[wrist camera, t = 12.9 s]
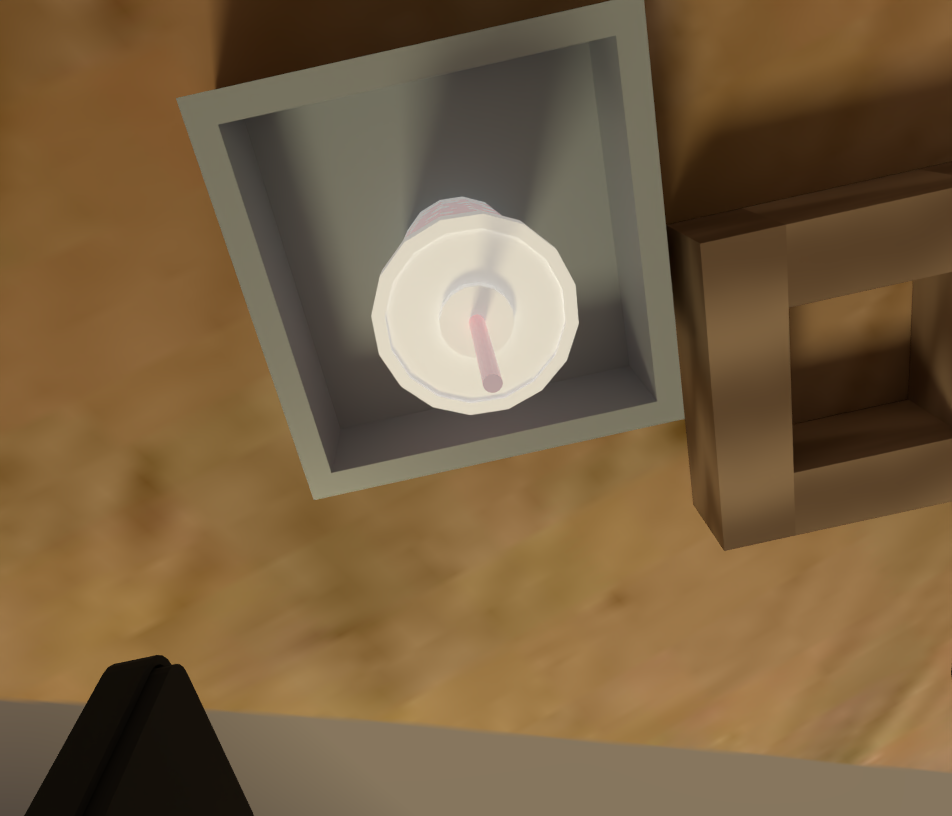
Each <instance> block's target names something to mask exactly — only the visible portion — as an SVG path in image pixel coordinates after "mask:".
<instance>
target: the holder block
mask: <svg viewBox="0 0 952 816" xmlns="http://www.w3.org/2000/svg"><path fill="white" fill-rule="evenodd" d="M666 227H667V237H668V247H669V258H670V268H671V278H672V289H673V299H674V309H675V320H676V330H677V340H678V351H679V361H680V371H681V382H682V392H683V402H684V413H685V423H686V433H687V444H688V454H689V464H690V475H691V485H692V495H693V505H694V506H695V508H696V509H697V511H698V512H699V514H700V515H701V517H702V518H703V520H704V521H705V523H706V524H707V526H708V527H709V529H710V530H711V532H712V533H713V535H714V536H715V538H716V539H717V541H718V542H719V544H720V545H721V547H722V548H723V550H724V551H726V550H730V549H735V548H740V547H744V546H749V545H753V544H758V543H763V542H767V541H772V540H776V539H781V538H786V537H790V536H795V535H799V534H804V533H809V532H813V531H818V530H822V529H827V528H832V527H836V526H841V525H845V524H850V523H855V522H859V521H864V520H868V519H873V518H878V517H882V516H887V515H891V514H896V513H901V512H905V511H910V510H914V509H919V508H924V507H928V506H933V505H937V504H942V503H947V502H951V501H952V162H948V163H944V164H939V165H935V166H930V167H926V168H921V169H917V170H912V171H908V172H903V173H899V174H894V175H890V176H885V177H881V178H876V179H872V180H867V181H863V182H858V183H854V184H849V185H845V186H840V187H836V188H831V189H827V190H822V191H818V192H813V193H809V194H804V195H800V196H795V197H791V198H786V199H782V200H777V201H773V202H768V203H763V204H759V205H754V206H750V207H745V208H741V209H736V210H732V211H727V212H723V213H718V214H714V215H709V216H705V217H700V218H696V219H691V220H687V221H682V222H678V223H673V224H669V225H666ZM912 280H913V296H912V320H911V345H910V369H909V394H908V400H903V401H899V402H894V403H890V404H885V405H880V406H876V407H871V408H867V409H862V410H858V411H853V412H848V413H844V414H839V415H835V416H830V417H826V418H821V419H817V420H812V421H807V422H803V423H798V424H794V425H792V402H791V369H790V337H789V308H790V307H794V306H799V305H803V304H808V303H812V302H817V301H821V300H826V299H830V298H835V297H840V296H844V295H849V294H853V293H858V292H862V291H867V290H871V289H876V288H880V287H885V286H889V285H894V284H899V283H903V282H908V281H912Z"/></svg>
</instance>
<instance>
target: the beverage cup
mask: <svg viewBox="0 0 952 816" xmlns="http://www.w3.org/2000/svg"><path fill="white" fill-rule="evenodd" d="M371 318H372V323H373V328H374V333H375V337H376V342H377V347H378V352H379V355H380V357H381V358H382V360H383V361H384V363H385V364H386V366H387V367H388V368H389V370H390V371H391V373H392V374H393V376H394V377H395V379H396V380H397V382H398V383H399V384H400V386H401V387H403V388H404V389H406V390H407V391H409V392H410V393H412V394H413V395H415V396H416V397H418V398H419V399H421V400H423V401H424V402H426V403H427V404H429V405H430V406H432V407H434V408H439V409H444V410H448V411H453V412H458V413H463V414H468V415H474V414H481V413H487V412H493V411H500V410H506V409H510V408H511V407H513V406H515V405H517V404H518V403H520V402H522V401H524V400H526V399H527V398H529V397H531V396H533V395H534V394H536V393H538V392H540V391H542V390H543V389H544V387H545V386H546V385H547V384H548V383H549V381H550V380H551V379H552V378H553V377H554V375H555V374H556V373H557V372H558V371H559V369H560V368H561V367H562V366H563V365H564V363H565V362H566V361H567V358H568V355H569V352H570V349H571V346H572V343H573V340H574V337H575V334H576V331H577V328H578V325H579V320H578V308H577V296H576V285H575V283H574V281H573V279H572V277H571V275H570V273H569V272H568V270H567V268H566V266H565V264H564V262H563V260H562V259H561V257H560V255H559V253H558V251H557V249H556V248H555V247H554V246H552V245H551V244H550V243H548V242H547V241H546V240H545V239H543V238H542V237H541V236H539V235H538V234H537V233H536V232H534V231H533V230H532V229H530V228H529V227H528V226H527V225H525V224H524V223H523V222H521V221H520V220H517V219H513V218H509V217H505V216H502V215H500V214H499V213H498V212H497V211H495V210H494V209H493V208H491V207H490V206H489V205H488V204H486V203H485V202H482V201H478V200H474V199H470V198H466V197H456V198H450V199H443V200H439V201H437V202H436V203H434V204H433V205H431V206H429V207H428V208H426V209H425V210H423V211H421V212H420V213H419V215H418V216H417V218H416V219H415V220H414V222H413V223H412V225H411V226H410V227H409V229H408V230H407V233H406V235H405V237H404V240H403V241H402V243H401V244H400V246H399V247H398V248H397V250H396V251H395V253H394V254H393V255H392V257H391V258H390V260H389V261H388V262H387V264H386V265H385V267H384V268H383V270H382V272H381V274H380V277H379V282H378V286H377V291H376V296H375V300H374V305H373V310H372V315H371Z"/></svg>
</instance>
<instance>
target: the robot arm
mask: <svg viewBox="0 0 952 816" xmlns="http://www.w3.org/2000/svg"><path fill="white" fill-rule="evenodd" d="M951 675H952V670H951ZM24 816H254V815H253V812H252V810H251V808H250V806H249V804H248V801H247V799H246V797H245V795H244V793H243V791H242V789H241V787H240V785H239V782H238V780H237V778H236V776H235V774H234V772H233V770H232V767H231V765H230V763H229V761H228V759H227V757H226V755H225V753H224V751H223V748H222V746H221V744H220V742H219V740H218V738H217V736H216V734H215V731H214V729H213V727H212V726H211V723H210V721H209V719H208V717H207V714H206V712H205V710H204V708H203V706H202V704H201V702H200V699H199V697H198V695H197V693H196V691H195V689H194V687H193V685H192V682H191V680H190V678H189V676H188V674H187V672H186V670H185V669H184V667H183V666H181V665H180V664H173V665H171V663H170V662H169V660H168V659H167V658H165V657H164V656H162V655H155V656H151V657H146V658H141V659H136V660H131V661H126V662H122V663H117V664H113V665H111V666H110V667H108V668H107V669H106V671H105V672H104V673H103V675H102V677H101V678H100V680H99V682H98V684H97V686H96V687H95V689H94V691H93V693H92V695H91V696H90V698H89V700H88V702H87V704H86V705H85V707H84V709H83V711H82V713H81V714H80V716H79V718H78V720H77V722H76V724H75V725H74V727H73V729H72V731H71V732H70V734H69V736H68V738H67V740H66V742H65V744H64V745H63V747H62V749H61V750H60V752H59V754H58V756H57V758H56V759H55V761H54V763H53V765H52V767H51V769H50V770H49V772H48V774H47V776H46V778H45V779H44V781H43V783H42V785H41V787H40V788H39V790H38V792H37V794H36V796H35V797H34V799H33V801H32V803H31V805H30V807H29V808H28V810H27V812H26V814H25V815H24Z"/></svg>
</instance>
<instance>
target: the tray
mask: <svg viewBox="0 0 952 816" xmlns="http://www.w3.org/2000/svg"><path fill="white" fill-rule="evenodd" d="M176 100H177V102H178V105H179V108H180V111H181V114H182V117H183V120H184V123H185V126H186V129H187V132H188V134H189V137H190V140H191V143H192V146H193V149H194V152H195V155H196V158H197V161H198V164H199V167H200V169H201V172H202V175H203V178H204V181H205V184H206V187H207V190H208V193H209V196H210V199H211V202H212V204H213V207H214V210H215V213H216V216H217V219H218V222H219V225H220V228H221V231H222V234H223V237H224V239H225V242H226V245H227V248H228V251H229V254H230V257H231V260H232V263H233V266H234V269H235V271H236V274H237V277H238V280H239V283H240V286H241V289H242V292H243V295H244V298H245V301H246V304H247V306H248V309H249V312H250V315H251V318H252V321H253V324H254V327H255V330H256V333H257V336H258V339H259V341H260V344H261V347H262V350H263V353H264V356H265V359H266V362H267V365H268V368H269V371H270V374H271V376H272V379H273V382H274V385H275V388H276V391H277V394H278V397H279V400H280V403H281V406H282V408H283V411H284V414H285V417H286V420H287V423H288V426H289V429H290V432H291V435H292V438H293V441H294V443H295V446H296V449H297V452H298V455H299V458H300V461H301V464H302V467H303V470H304V473H305V476H306V478H307V481H308V484H309V487H310V490H311V493H312V496H313V499H314V500H316V499H321V498H326V497H330V496H335V495H339V494H344V493H348V492H353V491H357V490H362V489H367V488H371V487H376V486H380V485H385V484H389V483H394V482H399V481H403V480H408V479H412V478H417V477H421V476H426V475H430V474H435V473H440V472H444V471H449V470H453V469H458V468H462V467H467V466H471V465H476V464H481V463H485V462H490V461H494V460H499V459H503V458H508V457H513V456H517V455H522V454H526V453H531V452H535V451H540V450H544V449H549V448H554V447H558V446H563V445H567V444H572V443H576V442H581V441H585V440H590V439H595V438H599V437H604V436H608V435H613V434H617V433H622V432H627V431H631V430H636V429H640V428H645V427H649V426H654V425H658V424H663V423H668V422H672V421H677V420H681V419H685V417H684V407H683V396H682V386H681V376H680V365H679V355H678V345H677V334H676V324H675V314H674V304H673V293H672V283H671V273H670V262H669V252H668V242H667V231H666V221H665V211H664V200H663V190H662V180H661V169H660V159H659V149H658V138H657V128H656V118H655V108H654V97H653V87H652V77H651V66H650V56H649V46H648V35H647V25H646V15H645V4H644V0H611V1H607V2H602V3H598V4H593V5H589V6H584V7H580V8H575V9H571V10H567V11H562V12H558V13H553V14H549V15H544V16H540V17H535V18H531V19H527V20H522V21H518V22H513V23H509V24H504V25H500V26H495V27H491V28H486V29H482V30H478V31H473V32H469V33H464V34H460V35H455V36H451V37H446V38H442V39H438V40H433V41H429V42H424V43H420V44H415V45H411V46H406V47H402V48H397V49H393V50H389V51H384V52H380V53H375V54H371V55H366V56H362V57H357V58H353V59H349V60H344V61H340V62H335V63H331V64H326V65H322V66H317V67H313V68H309V69H304V70H300V71H295V72H291V73H286V74H282V75H277V76H273V77H268V78H264V79H260V80H255V81H251V82H246V83H242V84H237V85H233V86H228V87H224V88H220V89H215V90H211V91H206V92H202V93H197V94H193V95H188V96H184V97H179V98H176ZM456 197H466V198H470V199H474V200H478V201H482V202H485V203H486V204H488V205H489V206H490V207H491V208H493V209H494V210H495V211H497V212H498V213H499V214H500V215H502V216H505V217H509V218H513V219H517V220H520V221H521V222H523V223H524V224H525V225H527V226H528V227H529V228H530V229H532V230H533V231H534V232H536V233H537V234H538V235H539V236H541V237H542V238H543V239H545V240H546V241H547V242H548V243H550V244H551V245H552V246H554V247H555V248H556V249H557V251H558V253H559V255H560V257H561V259H562V260H563V262H564V264H565V266H566V268H567V270H568V272H569V273H570V275H571V277H572V279H573V281H574V283H575V285H576V296H577V308H578V320H579V325H578V328H577V331H576V334H575V337H574V340H573V343H572V346H571V349H570V352H569V355H568V358H567V361H566V362H565V363H564V365H563V366H562V367H561V368H560V369H559V371H558V372H557V373H556V374H555V375H554V377H553V378H552V379H551V380H550V381H549V383H548V384H547V385H546V386H545V387H544V389H543V390H542V391H540V392H538V393H536V394H534V395H533V396H531V397H529V398H527V399H526V400H524V401H522V402H520V403H518V404H517V405H515V406H513V407H511V408H510V409H506V410H500V411H493V412H487V413H481V414H474V415H468V414H463V413H458V412H453V411H448V410H444V409H439V408H434V407H432V406H430V405H429V404H427V403H426V402H424V401H423V400H421V399H419V398H418V397H416V396H415V395H413V394H412V393H410V392H409V391H407V390H406V389H404V388H403V387H401V386H400V384H399V383H398V382H397V380H396V379H395V377H394V376H393V374H392V373H391V371H390V370H389V368H388V367H387V366H386V364H385V363H384V361H383V360H382V358H381V357H380V355H379V352H378V347H377V342H376V337H375V333H374V328H373V323H372V318H371V315H372V310H373V305H374V300H375V296H376V291H377V286H378V282H379V277H380V274H381V272H382V270H383V268H384V267H385V265H386V264H387V262H388V261H389V260H390V258H391V257H392V255H393V254H394V253H395V251H396V250H397V248H398V247H399V246H400V244H401V243H402V241H403V240H404V237H405V235H406V233H407V230H408V229H409V227H410V226H411V225H412V223H413V222H414V220H415V219H416V218H417V216H418V215H419V213H420V212H421V211H423V210H425V209H426V208H428V207H429V206H431V205H433V204H434V203H436V202H437V201H439V200H443V199H450V198H456Z"/></svg>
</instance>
